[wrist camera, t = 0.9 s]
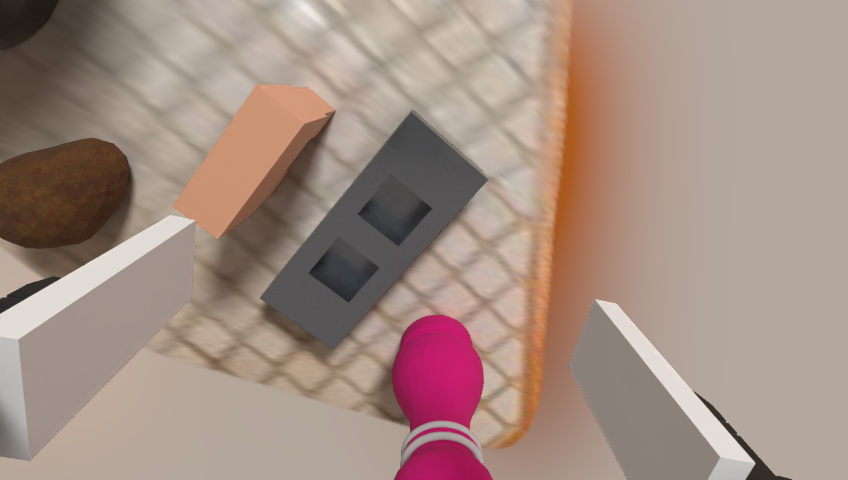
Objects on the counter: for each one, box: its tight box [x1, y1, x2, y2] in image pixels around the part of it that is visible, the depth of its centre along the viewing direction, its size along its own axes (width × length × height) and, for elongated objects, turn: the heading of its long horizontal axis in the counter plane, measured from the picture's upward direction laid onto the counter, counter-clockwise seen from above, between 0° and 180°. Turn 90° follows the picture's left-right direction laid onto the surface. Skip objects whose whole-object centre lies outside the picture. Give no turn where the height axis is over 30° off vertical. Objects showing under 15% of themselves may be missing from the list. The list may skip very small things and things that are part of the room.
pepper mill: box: [392, 315, 493, 480], centre depth 30 cm, size 7×7×20 cm
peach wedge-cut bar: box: [172, 85, 336, 239], centre depth 29 cm, size 3×8×10 cm, turn 139°
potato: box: [0, 138, 130, 249], centre depth 32 cm, size 7×10×7 cm
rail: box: [260, 109, 488, 350], centre depth 34 cm, size 7×18×4 cm, turn 140°
